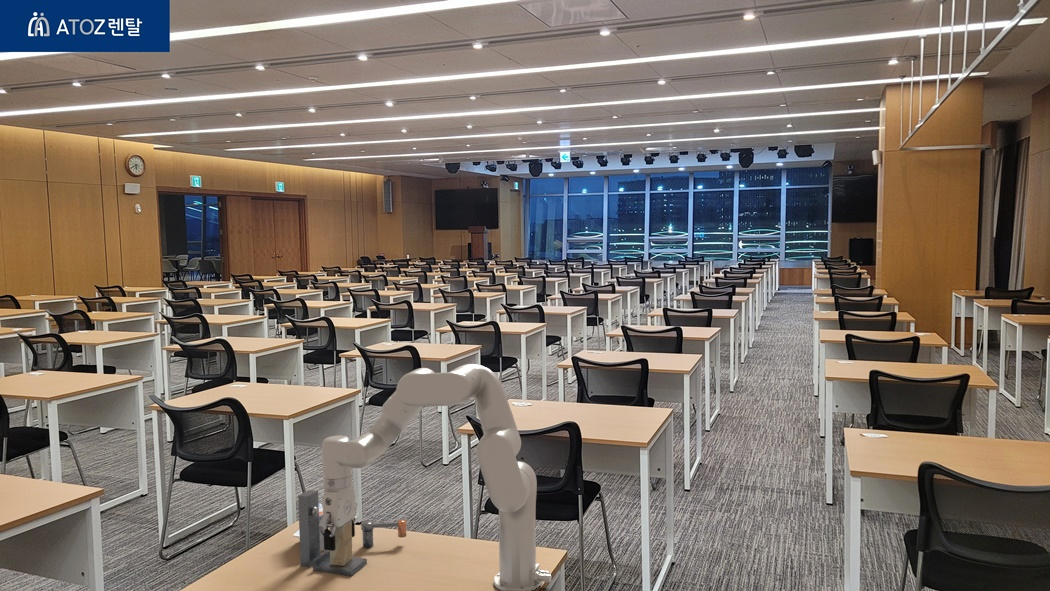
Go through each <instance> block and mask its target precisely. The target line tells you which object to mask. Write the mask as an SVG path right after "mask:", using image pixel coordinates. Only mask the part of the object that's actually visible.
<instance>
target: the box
mask: <svg viewBox="0 0 1050 591" xmlns="http://www.w3.org/2000/svg"><path fill="white" fill-rule="evenodd" d="M331 524H333V523H331ZM328 529H329V530H330V531H331V527H329V528H328ZM333 536H335V547H336V549H335V550H334V551H330V564H332V565H341V566H344V565H345V564H347V563H348V562H349V561H350V560H352V557H353V537H352V521H351V520H350V521H349V522H347V523H346V524H344V525H343V526H341V527H339V528H337V527H336V529H335V532H334V535H333Z"/></svg>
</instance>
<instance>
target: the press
mask: <svg viewBox="0 0 1050 591" xmlns="http://www.w3.org/2000/svg"><path fill="white" fill-rule="evenodd" d="M297 496H298V497H297V501H298V502H297V503H298V525H299V528H298V529H299V554H300V555H299V556H300V560H299V561H300V567H303V568H312V572H318V573H319V572H320V573H326V574H332V575H333V574H334V575H338V576H346V577H353V576H354V575H356V573H358V572H359V571H360V570H362V569H363V568H364V567H365V566H367V565H368V560H367V558H364V557H355V556H352V560H350V561H349V562H348V563H347V564H345V565H344V566H341V565H332V564H330V550H324V552H322V553H321V551H320V534H319V504H320V503H319V490H315V489H308V490H306V491H304V492H302V493H300V494H298V495H297Z"/></svg>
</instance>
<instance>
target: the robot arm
mask: <svg viewBox="0 0 1050 591" xmlns="http://www.w3.org/2000/svg"><path fill="white" fill-rule="evenodd" d="M471 398H473V399H474V401H475V404H476V412H477V417H478V419H479V422H480V425H481V428H482V433H483V435H482V437H481V438H480V439H479V441H478V443H477V447H476V457H477V461H478V465H479V469H480V472H481V475H482V478H483V482H484V485H485V487H486V490H487V493H488V497H489V499H490V501H491V502H492V504H493V505H494V507H495V508H496V509H498V541H499V543H498V545H499V547H498V548H499V552H498V553H499V559H498V560H499V572H498V573H496V574H495V575H494V577H493V584H494V585H493V586H495V588H496V589H498V590H499V591H532V590H533V591H535V589H536V588H537V589H539V588H540V587H541V586H542V584H543V583H552V574H550V571H549V570H542V569H541V568H540V563H537V561H536V558H537V555H536V554H537V552H536V550H537V549H536V548H537V547H536V543H537V542H536V533H537V532H536V521H537V520H536V517H537V516H536V510H537V507H536V506H537V505H536V504H537V503H536V502H537V488H538V487H537V486H538V485H537V484H538V482H537V475H536V473H535V471H534V469H533V468H532V467H531V465H529V464H528V463H526V462H524V461H519V460H518V461H517V455H518V454H519V452H520V450H521V447H522V439H521V436H520V432H519V431H518V427H517V424H516V421H515V418H514V414H513V412H512V409H511V407H510V404H509V401H508V398H507V394H506V391H505V389H504V386H503V384H502V382H501V380H500V378H499V377H498V376H497V374H496V373H495V372H493V371H492V370H491V369H490V368H488V367H485V366H484V365H480V364H475V363H466V364H463V365H460V366H457V367H456V368H454V369H452V370H451V371H447V372H445V371H444V372H435V371H434V370H432V369H430V368H427V367H420V368H416V369H413V370H412V371H410V372H408V373H405V374H404V375H403V376H401V378H400V379H399V380H398V382H397V385H396V389H395V391H394V392H393V393H392V394H391V395H390V396H389V397H388V399H387V400H386V401H385V402H384V403H383V405H382V407H381V409H382V414H381V415H380V417H379V418H378V419H377V420H376V421H375V422H374V424H372V426H371V427H370V428H369V429H368V430H367V431H366V432H365V433H364V434H362V435H360V436H359V437H356V438H354V439H352V440H351V439H350V437H348V436H345V435H342V434H341V435H331V436H328V437H326V438H324V439H323V440H322V446H321V448H322V449H321V450H322V473H323V476H322V477H323V478H322V479H323V497H322V498H323V499H322V507H323V519H322V520H321V522H320V524H319V528H320V530H321V533H322V535H323V536H324V549H325V550H324V551H326V550H330V551H334V550H335V549H336V547H335V536H333V535H334V532H335V529H336V527H337V528H339V527H341V526H343V525H344V524H346V523H347V522H349V521H350V520H351V521H352V538H354V537H355V536H356V532H355V531H356V530H355V529H356V528H355V522H356V516H357V508H358V502H357V501H356V493H355V487H354V484H353V475H352V474H353V473H352V472H353V470H352V469H362V468H365V467H366V466H369V465H370V464H371V463H372V462H373V461H375V460H377V459H378V458H380V457H381V456H382V455H383V454H384V453H385V452H386V451H387V450H388V449H389V447H391V446H392V444H393V443H394V442H395V441H396V440H397V439H398V438H399V436H400V435H402V432H404V430H406V428H407V427H408V425H409V424H411V422H412V420H414V418H415V417H416V416H417V415H418V414H419V413H420V412H421V411H422V409H424V407H429V408H430V407H448V406H449V407H450V406H451V407H452V406H457V405H458V406H459V405H462V404H463V403H466V402H467V401H468V400H469V399H471ZM332 523H333V524H332ZM329 527H331V531H330V529H329ZM539 586H540V587H539ZM538 587H539V588H538ZM537 589H536V590H537Z"/></svg>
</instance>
